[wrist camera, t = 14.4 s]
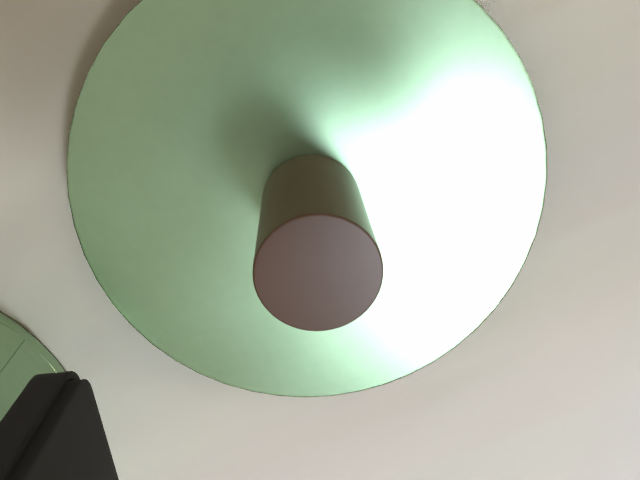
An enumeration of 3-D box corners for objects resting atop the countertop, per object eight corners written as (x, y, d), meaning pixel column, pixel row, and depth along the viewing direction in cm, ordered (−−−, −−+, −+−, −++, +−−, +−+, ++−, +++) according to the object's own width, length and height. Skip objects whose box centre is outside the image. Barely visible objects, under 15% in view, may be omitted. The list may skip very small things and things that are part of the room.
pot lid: (545, -87, 18) (681, -128, 12) (525, 357, 24) (607, 485, 18) (20, -34, 18) (-124, -46, 12) (133, 398, 24) (77, 541, 18)
